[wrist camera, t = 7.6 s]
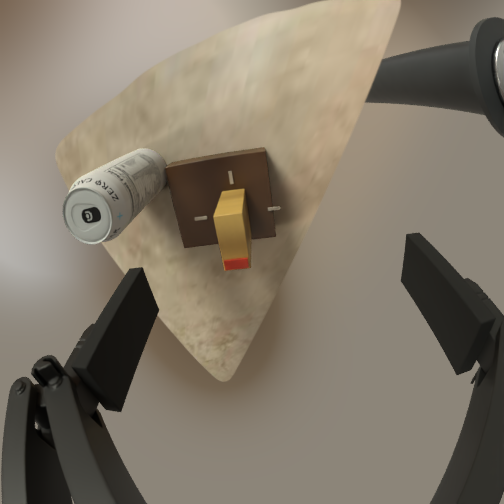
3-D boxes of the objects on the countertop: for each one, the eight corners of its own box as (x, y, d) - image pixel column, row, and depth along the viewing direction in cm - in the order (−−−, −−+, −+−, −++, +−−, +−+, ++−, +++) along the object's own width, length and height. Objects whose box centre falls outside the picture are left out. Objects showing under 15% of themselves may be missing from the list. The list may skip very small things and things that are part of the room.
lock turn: (221, 191, 31) (212, 217, 24) (244, 188, 31) (242, 213, 24) (229, 236, 34) (224, 272, 27) (251, 234, 34) (251, 269, 27)
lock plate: (271, 146, 32) (273, 150, 29) (282, 235, 37) (284, 246, 34) (171, 162, 33) (164, 168, 30) (191, 246, 38) (186, 258, 35)
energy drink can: (120, 153, 32) (48, 189, 19) (164, 142, 31) (106, 171, 18) (131, 198, 35) (71, 255, 21) (174, 189, 34) (128, 245, 21)
